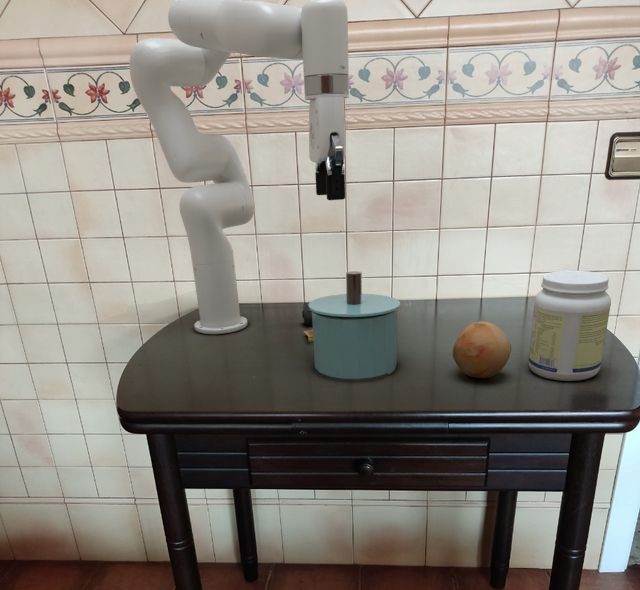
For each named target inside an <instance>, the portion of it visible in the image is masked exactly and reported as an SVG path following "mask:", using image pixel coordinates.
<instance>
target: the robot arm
mask: <svg viewBox="0 0 640 590" xmlns="http://www.w3.org/2000/svg"><path fill="white" fill-rule="evenodd" d="M348 17H349V16H348V7H347V5H346V3H345V2H344V1H343V0H308V1H306V2H305V3H304V4H302V7H300V6H292V5H289V4H281V3H275V2H267V1H258V0H257V1H256V0H173V2H172V3H171V4H170V7H169V9H168V14H167V21H168V25H169V28H170V30H171V32H172V34H173V35H174V36H175V37H176V38H165V37H150V38H145V39H141V40H140V41H138V42H137V43H135V45H133V47H132V50H131V51H130V54H129V55H130V56H129V76H130V80H131V84H132V87H133V91H134V93H135V96H136V98H137V99H138V101H139V103H140V105H141V107H142V108H143V110H144V112H145V113H146V115H147V117H148V119H149V121H150V122H151V125H152V127H153V129H154V132H155V134H156V138H157V140H158V142H159V145H160V148H161V150H162V153H163V155H164V158H165V161H166V163H167V165H168V167H169V169H170V171H171V174H172V175H173V177H174V178H175V179H176V180H177V181H179V182H181V183H185V184H186V183H189V184H191V183H201V182H210V181H212V182H213V183H208V184H199V185H195V186H192V187H190V188H188V189H186V190H185V191H184V192H183V194H182V195H181V196H180V199H179V213H180V218H181V221H182V224H183V226H184V229H185V233H186V237H187V240H188V246H189V251H190V258H191V265H192V273H193V279H194V286H195V293H196V300H197V307H198V314H199V320H197V321H195V323H194V325H193V326H194V327H193V328H194V331H196V332H198V333H200V334H204V335H223V334H231V333H235V332H238V331H241V330H243V329H244V328H246V327H247V326H248V324H249V323H248V319H247V318H246V317H245V316H243V315H242V316H241V311H240V300H239V292H238V284H237V273H236V264H235V263H236V262H235V256H234V249H233V246H232V244H231V242H230V240H229V239H228V237H227V236H226V234H225V232H224V229H227V228H228V229H229V228H233V227H238V226H239V227H240V226H243V225H245V224H247V223H249V222H250V221H251V220H252V219H253V217H254V215H255V210H256V209H255V208H256V207H255V198H254V195H253V192H252V189H251V186H250V183H249V181H248V179H247V175H246V173H245V170H244V167H243V165H242V162H241V160H240V159H241V158H240V156H239V154H238V151H237V150H236V148H235V146H234V145H233V143H232V142H231V141H230V140H229V138H227V137H226V136H224V135H222V134H218V133H201V132H200V131H199V130H198V128H197V126H196V124H195V122H194V119H193V117H192V114H191V112H190V109H189V108H188V106H187V105H186V104H185V102H183V100H182V99H181V98H180V97H179V96H178V95H177V94H176V93H175V92H174V91H173V90H172V89H171V87H180V88H181V87H182V88H183V87H184V88H200V87H201V88H202V87H204V86H206V85H209V84H210V82H212V81H213V80H214V79H215V77H216V76H217V74H218V73H219V72H220V70H221V69H222V67H223V66H224V64H225V63H226V62H227V61H228V59H229V57H231V54H240V55H247V56H253V57H259V58H270V59H286V60H297V61H301V60H302V66H303V67H302V69H303V70H302V71H303V89H304V100H305V101H309V105H308V107H309V108H308V153H309V155H308V156H309V160H310V161H311V162H313V163H315V172H314V173H315V176H314V177H315V193H316V195H317V196H326V199H327V201H340V200H345V199H346V175H345V173H346V172H345V171H346V169H345V165H344V164H345V159H346V156H347V133H346V131H347V130H346V113H345V112H346V110H345V99H349V98H350V75H349V73H350V72H349V71H350V70H349V68H350V67H349V26H348V25H349V21H348V20H349V19H348Z"/></svg>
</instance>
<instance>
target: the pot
mask: <svg viewBox="0 0 640 590" xmlns="http://www.w3.org/2000/svg"><path fill="white" fill-rule="evenodd" d="M312 323H313V325H312V329H313V341H314V342H313V357H314V358H313V359H314V369H315V370H316V371H318V373H320V374H322V375H325V376H327V377H331V378H337V379H342V380H343V379H344V380H361V379H369V378H376V377H379V376H382V375H387V374H388V375H390V374H392V373H393V372H395V370H396V369H397V364H398V309H397V310H395V311H393V312H390V313H386V314H381V315H375V316H369V317H361V318H353V319H343V318H340V317H335V316H328V315H322V314H318V313H315V312H313V311H312Z"/></svg>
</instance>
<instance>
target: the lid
mask: <svg viewBox="0 0 640 590" xmlns="http://www.w3.org/2000/svg"><path fill="white" fill-rule="evenodd" d="M345 287H346V288H345V289H346V290H345V292H346V293H341V294H333V295H326V296H322V297H318V298H315V299H313V300H311V301H310V302H308V303H309V305H308V307H309V309H310V310H311V311H313V312H315V313H318V314H322V315H328V316H335V317H348V318H355V317H369V316H375V315H381V314H386V313H390V312H393V311H395V310H397V311H398V309H399V308H400V307H401V302H400V301H399V299H397V298H394V297H393V296H392V297H391V296H388V295H383V294H375V293H363V273H362V271H357V270H356V271H355V270H353V271H352V270H351V271H347V272H346V273H345Z"/></svg>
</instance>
